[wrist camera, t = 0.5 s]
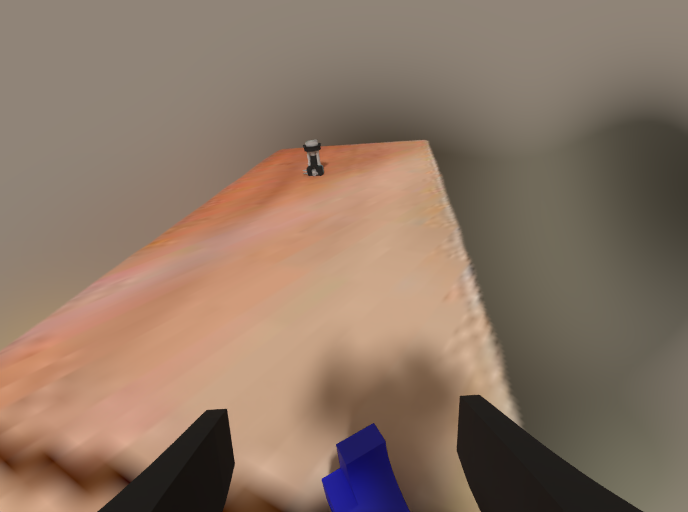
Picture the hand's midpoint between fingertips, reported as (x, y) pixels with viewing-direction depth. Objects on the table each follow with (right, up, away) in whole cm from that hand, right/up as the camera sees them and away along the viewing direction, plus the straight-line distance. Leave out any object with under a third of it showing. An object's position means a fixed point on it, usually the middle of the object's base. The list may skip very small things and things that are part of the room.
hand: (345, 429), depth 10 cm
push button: (-9, +30, +90) cm, 95 cm away
